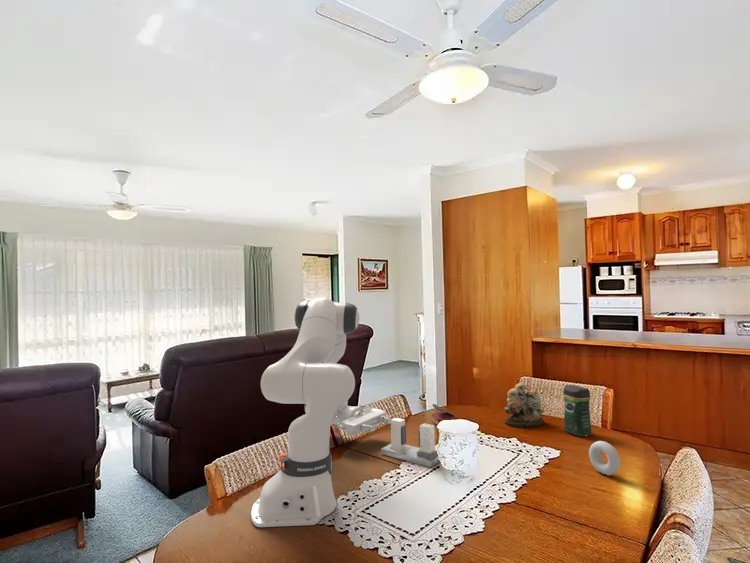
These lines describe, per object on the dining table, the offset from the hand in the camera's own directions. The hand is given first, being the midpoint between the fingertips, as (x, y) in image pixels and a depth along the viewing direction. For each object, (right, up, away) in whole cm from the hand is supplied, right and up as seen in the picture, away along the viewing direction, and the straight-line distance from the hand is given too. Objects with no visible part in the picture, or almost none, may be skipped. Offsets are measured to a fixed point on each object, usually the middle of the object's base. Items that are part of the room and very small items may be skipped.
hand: (381, 425), depth 155 cm
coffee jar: (+77, -7, +12) cm, 79 cm away
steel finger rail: (+11, -8, -8) cm, 16 cm away
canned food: (+27, -9, +29) cm, 41 cm away
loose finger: (+6, -9, -5) cm, 11 cm away
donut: (+69, -7, -24) cm, 73 cm away
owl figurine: (+61, -8, +25) cm, 66 cm away
